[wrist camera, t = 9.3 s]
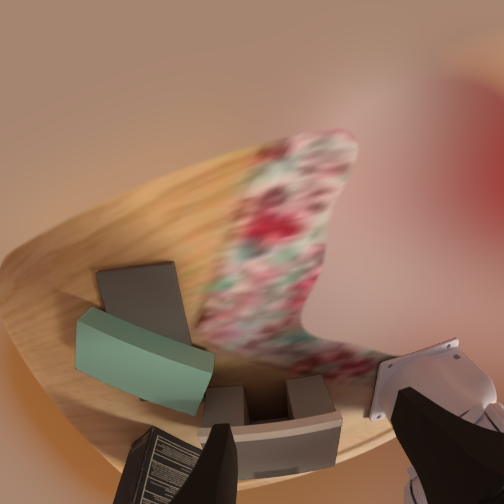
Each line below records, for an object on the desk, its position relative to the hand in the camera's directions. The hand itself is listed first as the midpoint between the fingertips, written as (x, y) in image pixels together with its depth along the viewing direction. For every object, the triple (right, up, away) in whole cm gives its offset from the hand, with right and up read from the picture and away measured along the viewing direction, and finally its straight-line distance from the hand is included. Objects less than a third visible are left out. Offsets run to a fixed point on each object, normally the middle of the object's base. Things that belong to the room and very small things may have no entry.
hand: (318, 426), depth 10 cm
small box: (-10, -15, +14) cm, 23 cm away
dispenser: (-1, -6, +12) cm, 14 cm away
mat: (-10, 0, +10) cm, 14 cm away
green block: (-10, +1, +8) cm, 13 cm away
